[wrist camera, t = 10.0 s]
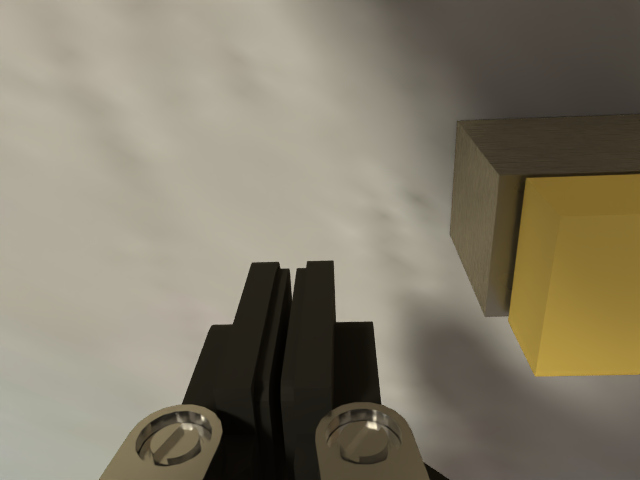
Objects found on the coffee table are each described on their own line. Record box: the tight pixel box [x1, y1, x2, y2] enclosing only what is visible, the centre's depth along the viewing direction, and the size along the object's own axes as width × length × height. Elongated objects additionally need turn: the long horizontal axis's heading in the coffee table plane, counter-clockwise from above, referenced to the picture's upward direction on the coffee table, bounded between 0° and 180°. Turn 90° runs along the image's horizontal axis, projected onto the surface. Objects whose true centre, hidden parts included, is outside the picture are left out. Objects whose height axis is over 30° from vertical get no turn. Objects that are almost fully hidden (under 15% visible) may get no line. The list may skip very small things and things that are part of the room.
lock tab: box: [508, 174, 640, 376], centre depth 12 cm, size 4×4×2 cm
